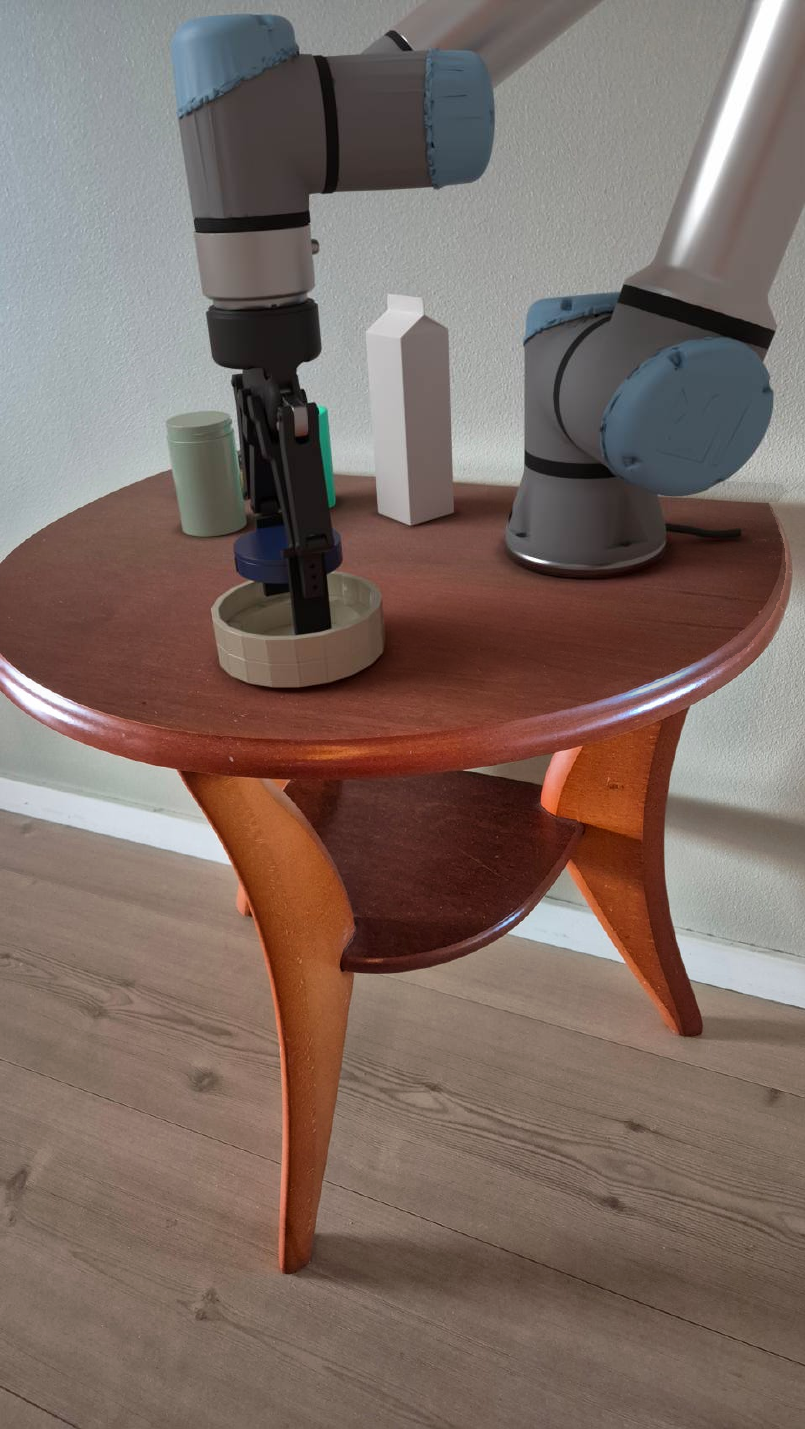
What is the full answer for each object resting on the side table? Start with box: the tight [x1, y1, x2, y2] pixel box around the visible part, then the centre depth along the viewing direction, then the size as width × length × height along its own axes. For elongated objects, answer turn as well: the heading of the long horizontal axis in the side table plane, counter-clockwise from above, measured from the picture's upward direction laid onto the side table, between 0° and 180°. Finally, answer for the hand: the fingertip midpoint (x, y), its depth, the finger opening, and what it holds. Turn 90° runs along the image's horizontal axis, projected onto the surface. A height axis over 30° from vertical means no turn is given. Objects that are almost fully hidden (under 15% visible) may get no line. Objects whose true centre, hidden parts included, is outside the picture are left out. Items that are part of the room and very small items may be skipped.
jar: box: [165, 410, 248, 538], centre depth 105 cm, size 7×7×12 cm
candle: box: [317, 405, 337, 509], centre depth 109 cm, size 6×6×12 cm
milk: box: [365, 293, 455, 527], centre depth 102 cm, size 6×6×22 cm
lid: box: [232, 524, 344, 584], centre depth 75 cm, size 8×8×2 cm
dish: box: [210, 570, 386, 688], centre depth 78 cm, size 13×13×4 cm
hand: (296, 611), depth 77 cm, fingers closed on lid, 8 cm apart
